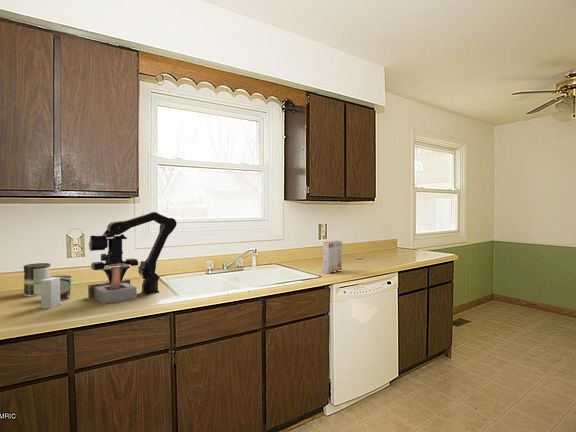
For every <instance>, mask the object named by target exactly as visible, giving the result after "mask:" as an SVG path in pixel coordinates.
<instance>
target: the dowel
mask: <svg viewBox="0 0 576 432" xmlns="http://www.w3.org/2000/svg"><path fill="white" fill-rule="evenodd" d="M110 269H111V279H112V281H111V290H115V289H120V266H111V267H110Z"/></svg>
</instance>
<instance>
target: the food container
mask: <svg viewBox="0 0 576 432" xmlns="http://www.w3.org/2000/svg"><path fill="white" fill-rule="evenodd" d="M50 277H60V301H61V300H62V301H63V300H65V301H66V300H67V301H68V300H69V299H70V298H71V288H72V282H73V281H74V279H73V277H72V275H68V274H67V275H66V274H65V275H62V274H61V275H59V274H58V275H52V276H51V275H50ZM50 277H45V278H44V279H47V278H50Z"/></svg>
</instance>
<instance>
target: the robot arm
mask: <svg viewBox="0 0 576 432" xmlns="http://www.w3.org/2000/svg"><path fill="white" fill-rule="evenodd" d="M153 221H154V222H155V223H157V224H159V229H158V230H159V232H158V234H157V237H156V239H155V241H154V244H153V246H152V247H151V250H150V251H149V253H148V257H147V258H146V259H145V261H144V260H141V262H140V265H139V260H138V259H136V258H134V257H133V258H126V259H125V260H123V254H124V251H123V240H127V239H128V237H126V236H125V234H124V233H125V232H127V231H129V230H130V229H131V228H135V227H137V226H141V225H143V224H147V223H150V222H153ZM177 224H178V223H177V221H176V219H175V218H173V217H167V216H165V215H163V214H160V213H159V212H157V211H151V212H149V213H146V214H142V215H140V216H136V217H133V218H130V219H127V220H121V221H120V220H119V221H112V222H110V223H108V225H107V228H106V229H105V231H104V232H103V233H102V235H89V236H90V238H89V242H88V247H89V248H88V249H89V251H90V252H93V251H105V250H106V249H107V248H108V249H107V250H108V251H107V253H101V254H100V261H94V262H92V263H91V264H90V269H92V270H93V271H102V272H104V273H105V275H106V278H107V280H108V282H109V283H111V281H112V279H111V267H120V282H121V281H122V280H124V279H123V278H124V276H125V275H126V273H127V271H128V269H130V268H131V267H134V266H138V267H137V269H138V271H137V272H138V274H139V276H141V278H142V279H143V280H142V283H141V293H143V294H145V295H150V294H151V295H152V294H157V293H160V290H159V279H160V276H159V275H158V274H157V273H156V269H157V261H158V258H159V257H160V255H161V252H162V250H163V248H164V246H165V244H166V241H167V239H168V237H169V236H170V235H171V234H172V232H174V230H175V229H176V226H177Z"/></svg>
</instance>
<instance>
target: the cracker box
mask: <svg viewBox="0 0 576 432" xmlns="http://www.w3.org/2000/svg"><path fill="white" fill-rule="evenodd" d="M342 245H343V242H342V241H341V240H331V241H323V242H322V273H323V272H327V273H326V274H328V273H330V272H334V271H338V270H343V251H342V250H343V246H342ZM330 274H331V273H330Z"/></svg>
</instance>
